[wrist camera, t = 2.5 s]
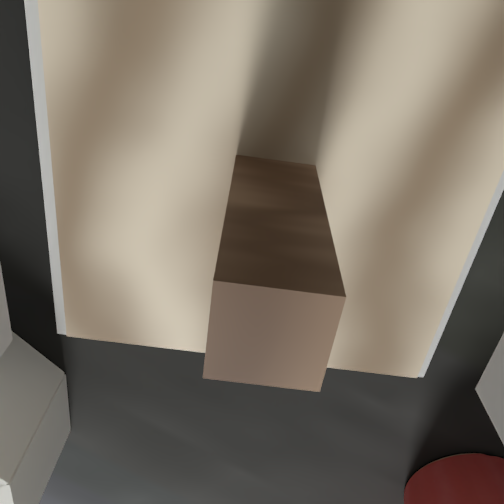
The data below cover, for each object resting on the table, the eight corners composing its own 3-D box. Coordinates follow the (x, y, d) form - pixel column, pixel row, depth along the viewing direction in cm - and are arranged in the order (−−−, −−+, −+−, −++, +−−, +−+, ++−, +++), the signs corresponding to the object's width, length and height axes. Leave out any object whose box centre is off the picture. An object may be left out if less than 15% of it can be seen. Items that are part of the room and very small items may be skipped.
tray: (594, -47, 17) (604, -48, 16) (420, 369, 27) (423, 377, 26) (18, -137, 16) (10, -141, 16) (61, 326, 26) (57, 333, 26)
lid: (562, -19, 17) (882, -6, 8) (410, 361, 26) (483, 563, 17) (44, -98, 16) (-226, -178, 7) (75, 321, 25) (-30, 509, 16)
